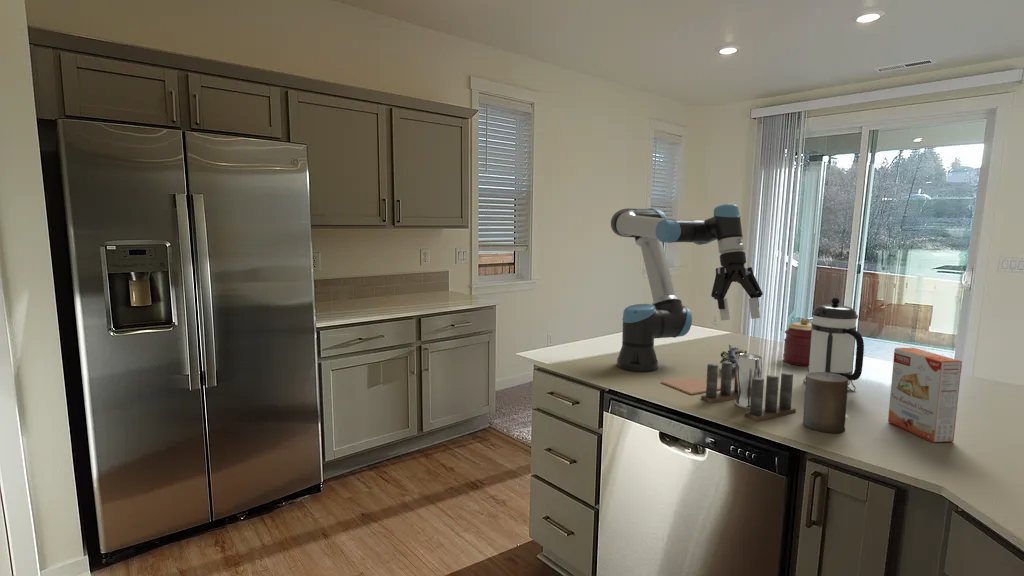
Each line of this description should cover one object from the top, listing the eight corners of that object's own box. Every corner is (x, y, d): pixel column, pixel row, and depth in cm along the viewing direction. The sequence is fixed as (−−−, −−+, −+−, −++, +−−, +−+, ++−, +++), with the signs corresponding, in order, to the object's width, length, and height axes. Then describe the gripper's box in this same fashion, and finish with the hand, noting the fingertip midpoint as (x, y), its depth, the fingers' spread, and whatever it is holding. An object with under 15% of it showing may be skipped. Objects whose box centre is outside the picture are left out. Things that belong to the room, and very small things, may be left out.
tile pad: (661, 382, 174) (661, 381, 174) (692, 377, 180) (692, 376, 180) (691, 395, 162) (691, 393, 162) (723, 389, 168) (723, 387, 168)
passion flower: (740, 388, 186) (738, 367, 179) (713, 376, 194) (709, 355, 187) (757, 368, 190) (755, 346, 183) (729, 357, 198) (726, 335, 191)
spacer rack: (701, 398, 158) (702, 364, 157) (738, 392, 165) (740, 358, 164) (756, 421, 140) (759, 381, 139) (795, 412, 147) (798, 374, 146)
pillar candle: (853, 431, 134) (858, 375, 132) (824, 435, 131) (828, 377, 129) (821, 418, 143) (825, 365, 141) (793, 421, 140) (797, 368, 139)
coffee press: (796, 387, 170) (803, 298, 166) (809, 377, 181) (815, 293, 178) (859, 399, 158) (867, 303, 155) (868, 388, 170) (876, 298, 166)
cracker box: (886, 422, 140) (893, 347, 138) (906, 421, 141) (914, 346, 138) (932, 443, 126) (940, 360, 124) (954, 442, 127) (963, 360, 124)
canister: (785, 356, 211) (788, 314, 209) (822, 361, 204) (825, 317, 201) (780, 363, 201) (783, 318, 198) (818, 368, 193) (822, 322, 191)
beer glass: (762, 410, 149) (765, 359, 147) (736, 408, 150) (739, 358, 148) (756, 402, 155) (759, 353, 154) (731, 400, 157) (734, 352, 155)
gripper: (712, 249, 155) (721, 319, 152) (768, 251, 166) (778, 316, 163) (694, 254, 161) (702, 321, 158) (749, 256, 172) (757, 319, 169)
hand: (740, 319), depth 161 cm, fingers open, 13 cm apart
